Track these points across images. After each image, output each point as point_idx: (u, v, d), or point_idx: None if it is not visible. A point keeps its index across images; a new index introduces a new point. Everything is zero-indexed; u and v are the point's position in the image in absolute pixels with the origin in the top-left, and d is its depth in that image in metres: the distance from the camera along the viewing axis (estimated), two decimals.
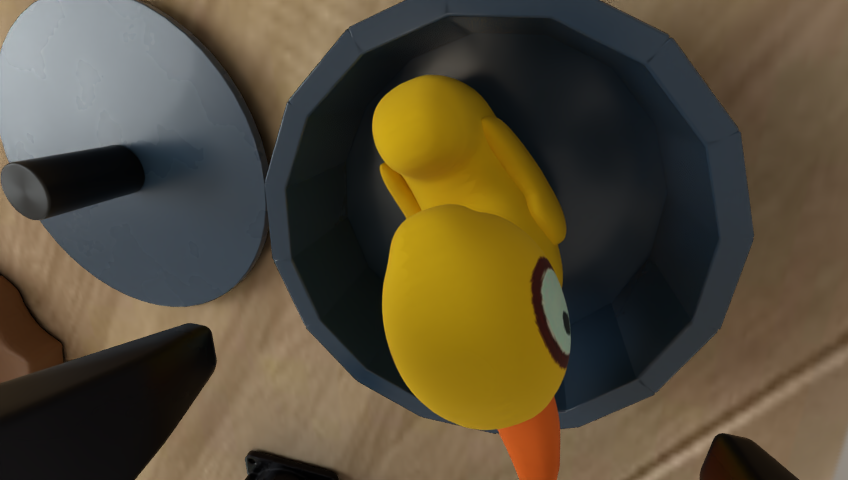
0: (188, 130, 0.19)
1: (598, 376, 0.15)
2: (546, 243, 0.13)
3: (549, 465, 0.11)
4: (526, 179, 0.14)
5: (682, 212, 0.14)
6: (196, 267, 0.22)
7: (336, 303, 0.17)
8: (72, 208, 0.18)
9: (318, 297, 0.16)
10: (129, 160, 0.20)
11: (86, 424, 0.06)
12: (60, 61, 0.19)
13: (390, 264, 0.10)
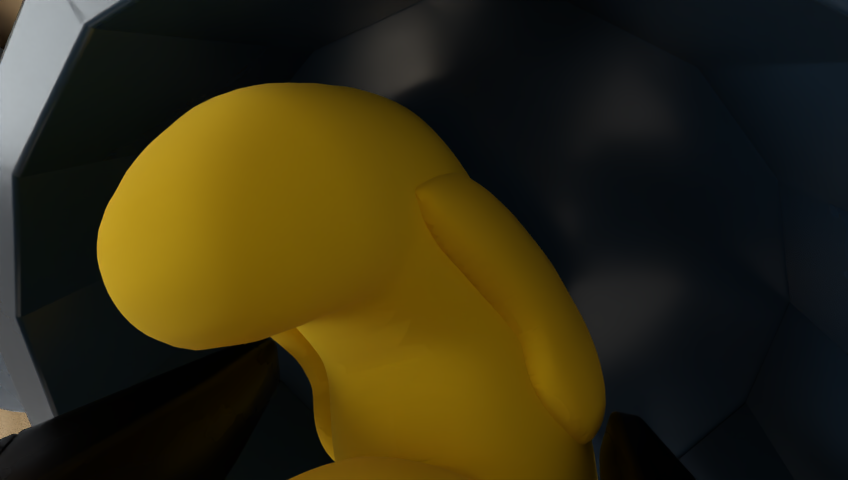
0: None
1: None
2: (568, 456, 0.06)
3: None
4: (524, 308, 0.06)
5: None
6: None
7: None
8: None
9: None
10: None
11: (170, 448, 0.06)
12: None
13: None
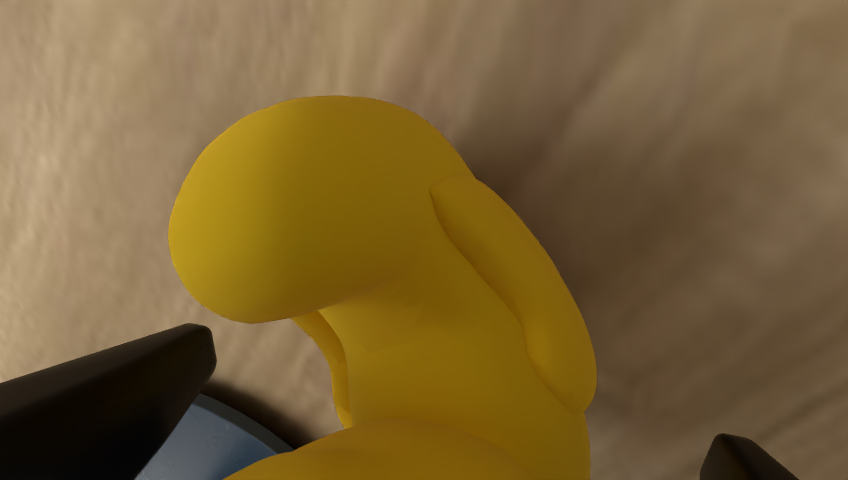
0: None
1: None
2: (562, 423, 0.07)
3: None
4: (524, 294, 0.07)
5: None
6: None
7: None
8: None
9: None
10: None
11: (86, 424, 0.06)
12: None
13: None
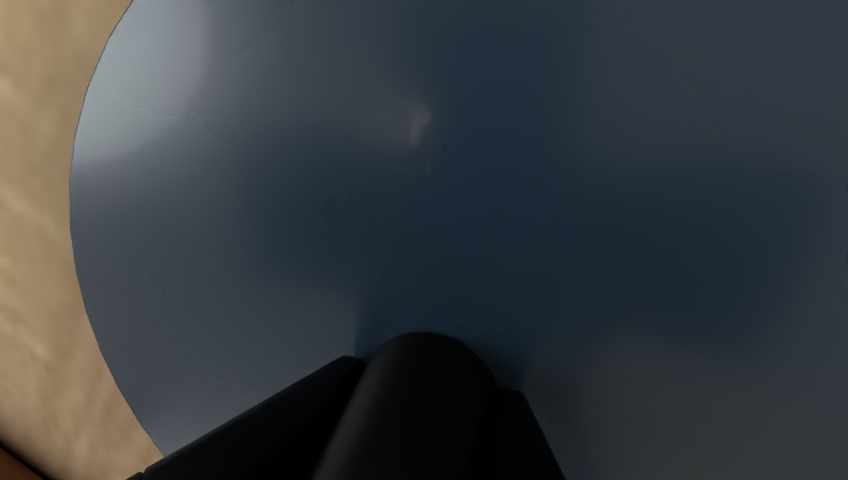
0: (730, 325, 0.06)
1: None
2: None
3: None
4: None
5: None
6: None
7: None
8: None
9: None
10: (488, 390, 0.07)
11: None
12: (297, 95, 0.06)
13: None
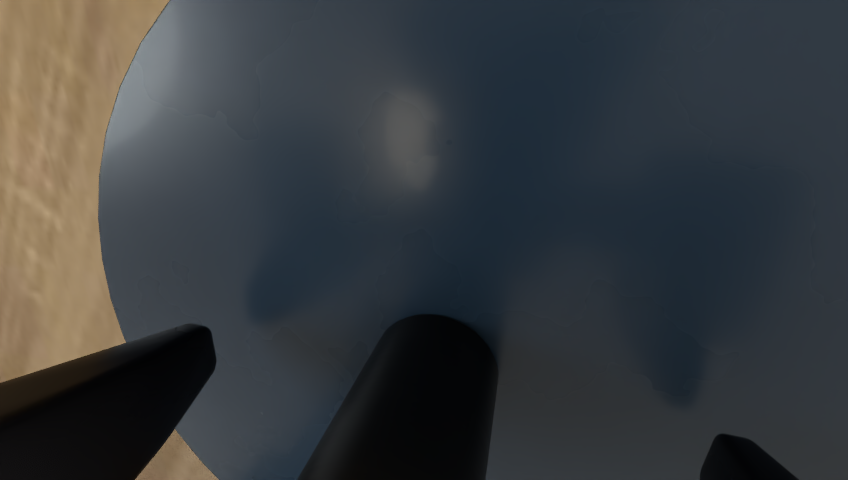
0: (708, 305, 0.06)
1: None
2: None
3: None
4: None
5: None
6: None
7: None
8: None
9: None
10: (488, 367, 0.07)
11: (86, 424, 0.06)
12: (314, 95, 0.07)
13: None
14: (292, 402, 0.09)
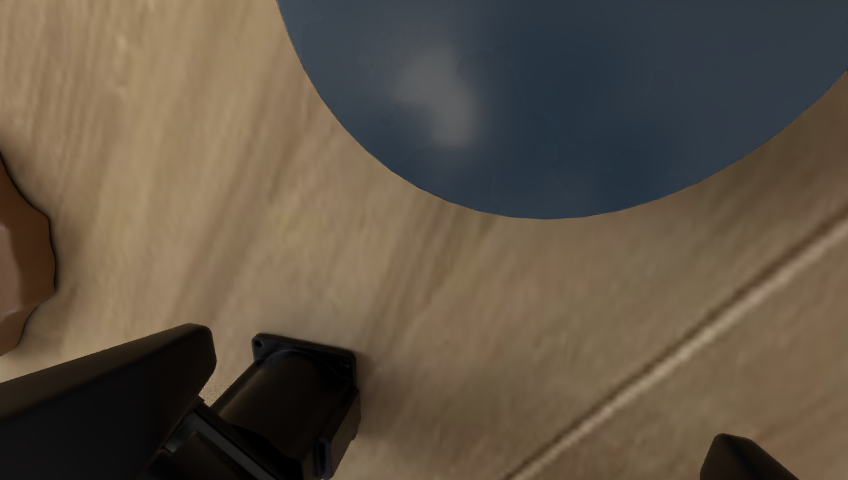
0: None
1: None
2: None
3: None
4: None
5: None
6: (649, 128, 0.11)
7: None
8: None
9: None
10: None
11: (86, 424, 0.06)
12: None
13: None
14: None
